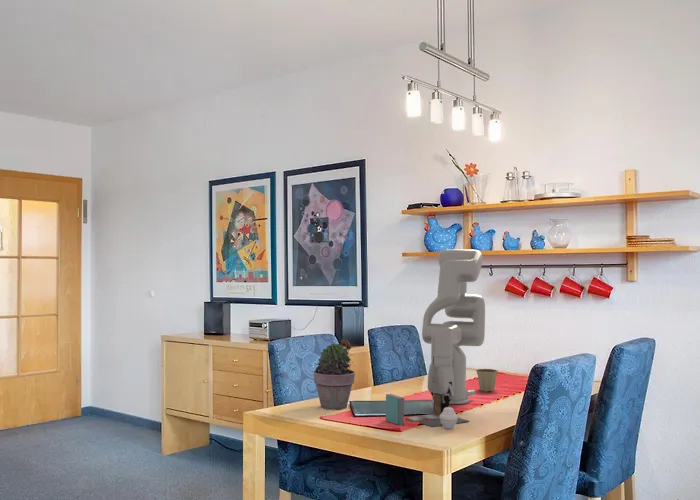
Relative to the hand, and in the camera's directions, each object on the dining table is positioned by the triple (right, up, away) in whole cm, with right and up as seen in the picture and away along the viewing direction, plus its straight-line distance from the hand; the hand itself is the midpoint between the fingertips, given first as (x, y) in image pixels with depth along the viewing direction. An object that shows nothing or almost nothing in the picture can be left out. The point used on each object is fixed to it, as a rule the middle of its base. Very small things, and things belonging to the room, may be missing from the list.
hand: (441, 412), depth 245 cm
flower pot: (+26, -3, +52) cm, 58 cm away
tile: (-17, -1, -10) cm, 20 cm away
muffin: (0, -1, -17) cm, 17 cm away
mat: (0, -1, -9) cm, 10 cm away
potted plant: (-39, -2, +13) cm, 41 cm away
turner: (-5, -1, -3) cm, 6 cm away
